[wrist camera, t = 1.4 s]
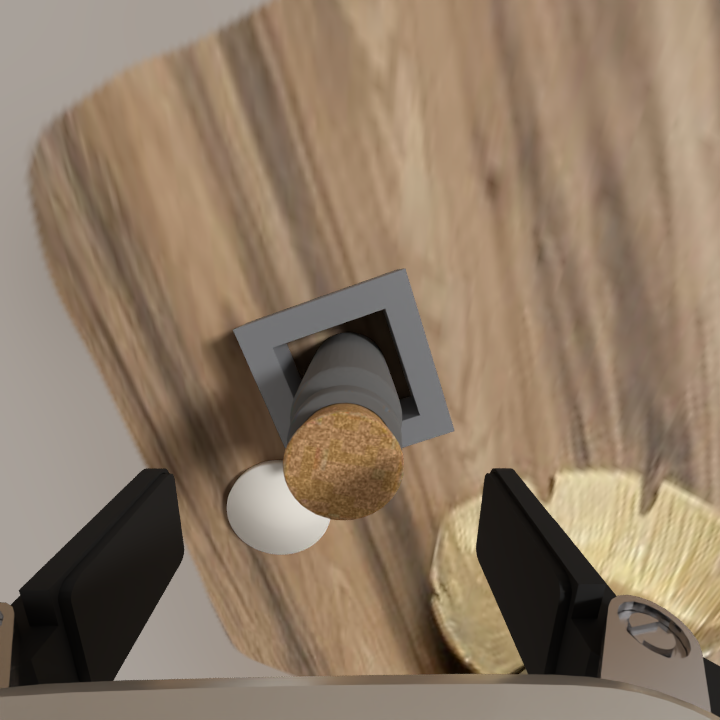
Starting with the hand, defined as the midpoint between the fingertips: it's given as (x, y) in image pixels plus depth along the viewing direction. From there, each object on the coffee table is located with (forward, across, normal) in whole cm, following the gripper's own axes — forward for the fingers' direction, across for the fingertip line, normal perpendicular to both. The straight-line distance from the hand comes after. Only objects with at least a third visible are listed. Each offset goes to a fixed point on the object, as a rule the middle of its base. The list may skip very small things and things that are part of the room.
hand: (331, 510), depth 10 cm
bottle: (+18, 0, +1) cm, 18 cm away
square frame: (+18, 0, +1) cm, 18 cm away
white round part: (+18, +6, +14) cm, 23 cm away
